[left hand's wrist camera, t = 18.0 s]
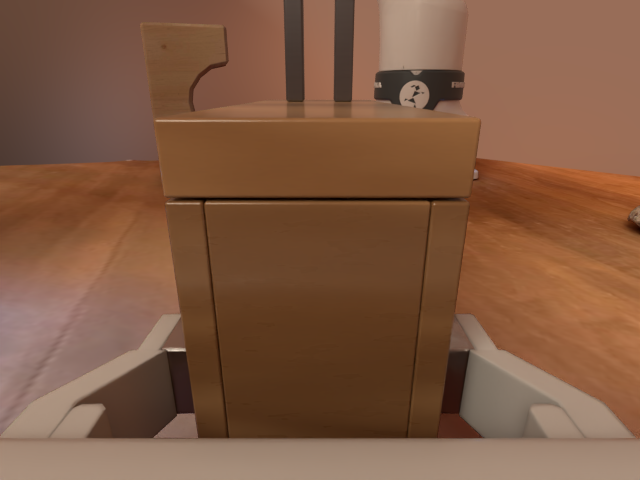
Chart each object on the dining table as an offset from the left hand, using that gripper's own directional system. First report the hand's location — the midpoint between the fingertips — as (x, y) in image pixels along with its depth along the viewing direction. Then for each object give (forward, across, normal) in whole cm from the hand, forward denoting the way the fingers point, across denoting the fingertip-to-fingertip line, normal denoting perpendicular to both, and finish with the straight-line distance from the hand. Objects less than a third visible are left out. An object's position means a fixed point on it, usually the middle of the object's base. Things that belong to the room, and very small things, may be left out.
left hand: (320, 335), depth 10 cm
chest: (+4, 0, -6) cm, 7 cm away
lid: (+4, 0, +4) cm, 6 cm away
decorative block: (+53, -19, -6) cm, 56 cm away
